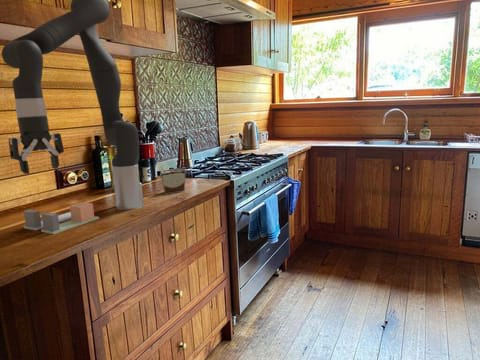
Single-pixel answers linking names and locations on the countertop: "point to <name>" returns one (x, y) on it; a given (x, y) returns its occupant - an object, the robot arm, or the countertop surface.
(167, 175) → the food container
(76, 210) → the block
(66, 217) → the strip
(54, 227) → the block strip
